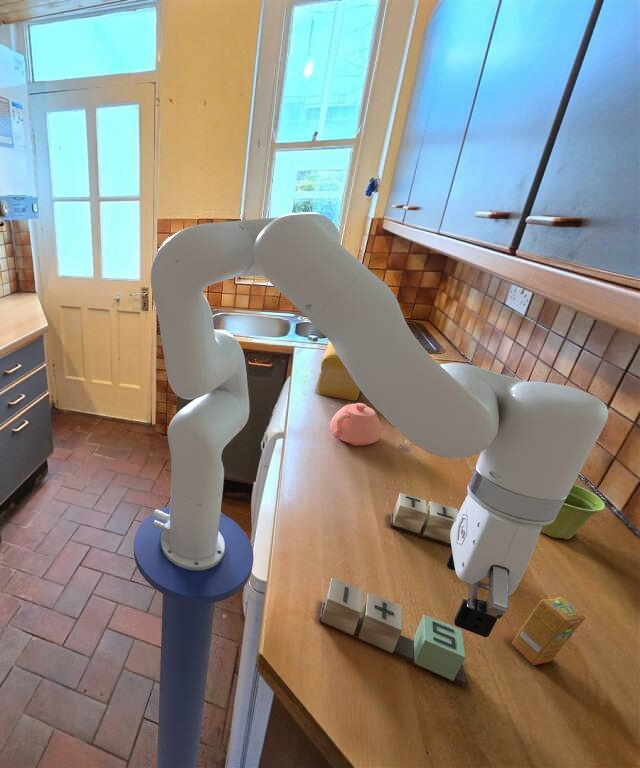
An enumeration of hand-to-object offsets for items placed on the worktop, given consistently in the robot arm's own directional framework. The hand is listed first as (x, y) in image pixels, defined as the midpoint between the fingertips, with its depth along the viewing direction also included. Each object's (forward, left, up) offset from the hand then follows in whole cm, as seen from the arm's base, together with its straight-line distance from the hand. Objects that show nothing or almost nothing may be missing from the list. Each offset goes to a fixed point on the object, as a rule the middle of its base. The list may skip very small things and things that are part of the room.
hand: (464, 598), depth 52 cm
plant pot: (+21, +43, -13) cm, 50 cm away
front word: (-6, 0, -13) cm, 14 cm away
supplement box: (+12, +9, -13) cm, 20 cm away
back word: (+3, +29, -13) cm, 32 cm away
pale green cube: (0, 0, -12) cm, 12 cm away
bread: (-23, +97, -13) cm, 101 cm away
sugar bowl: (-16, +60, -13) cm, 63 cm away
